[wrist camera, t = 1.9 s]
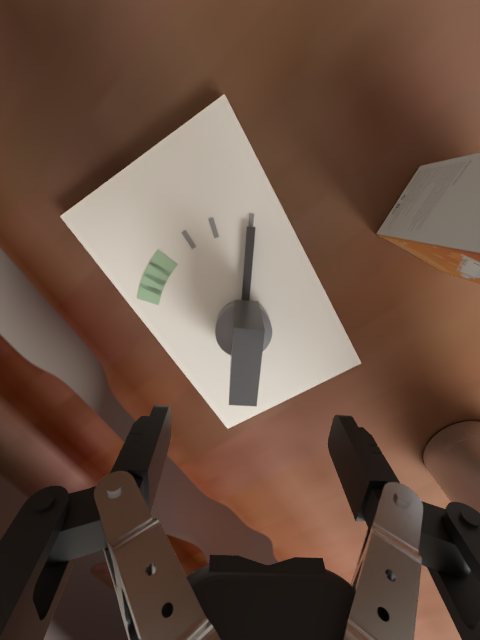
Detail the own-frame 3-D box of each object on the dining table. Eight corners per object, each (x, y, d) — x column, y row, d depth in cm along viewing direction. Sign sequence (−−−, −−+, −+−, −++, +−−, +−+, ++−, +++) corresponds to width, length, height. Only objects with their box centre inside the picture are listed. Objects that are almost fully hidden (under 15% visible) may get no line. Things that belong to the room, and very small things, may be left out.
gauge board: (355, 356, 30) (361, 363, 28) (228, 419, 33) (227, 429, 31) (225, 101, 22) (224, 93, 20) (69, 215, 25) (59, 216, 23)
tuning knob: (266, 354, 28) (277, 407, 20) (215, 351, 28) (207, 403, 20) (280, 228, 23) (301, 237, 16) (220, 224, 23) (213, 231, 16)
